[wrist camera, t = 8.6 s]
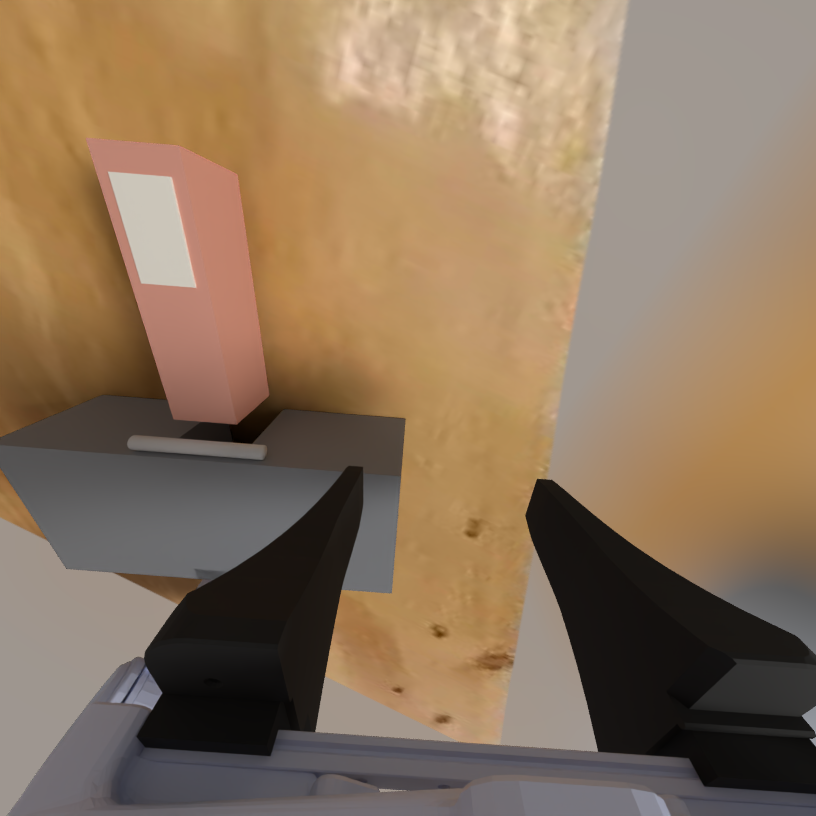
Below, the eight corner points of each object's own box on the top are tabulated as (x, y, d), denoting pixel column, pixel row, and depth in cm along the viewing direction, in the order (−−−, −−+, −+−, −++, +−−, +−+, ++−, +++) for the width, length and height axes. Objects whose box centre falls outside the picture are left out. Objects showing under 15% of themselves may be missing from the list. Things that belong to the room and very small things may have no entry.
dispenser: (397, 519, 26) (391, 593, 20) (145, 499, 26) (66, 568, 20) (406, 408, 21) (401, 464, 15) (98, 384, 21) (-25, 430, 15)
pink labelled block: (269, 395, 20) (236, 425, 16) (217, 391, 20) (172, 420, 16) (237, 174, 15) (177, 144, 11) (166, 168, 15) (82, 136, 11)
